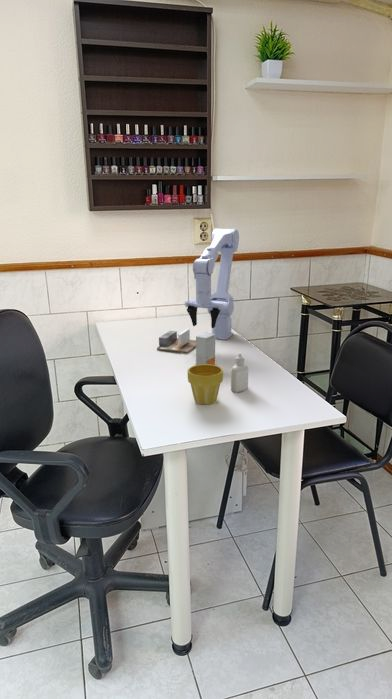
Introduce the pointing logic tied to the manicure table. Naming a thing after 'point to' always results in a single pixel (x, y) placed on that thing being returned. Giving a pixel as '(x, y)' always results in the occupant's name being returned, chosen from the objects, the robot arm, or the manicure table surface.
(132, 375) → the manicure table surface
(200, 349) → the skincare box
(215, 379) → the plant pot
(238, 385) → the eye dropper bottle
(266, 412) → the manicure table surface
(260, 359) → the manicure table surface
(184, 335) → the paddle
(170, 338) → the gauge frame
